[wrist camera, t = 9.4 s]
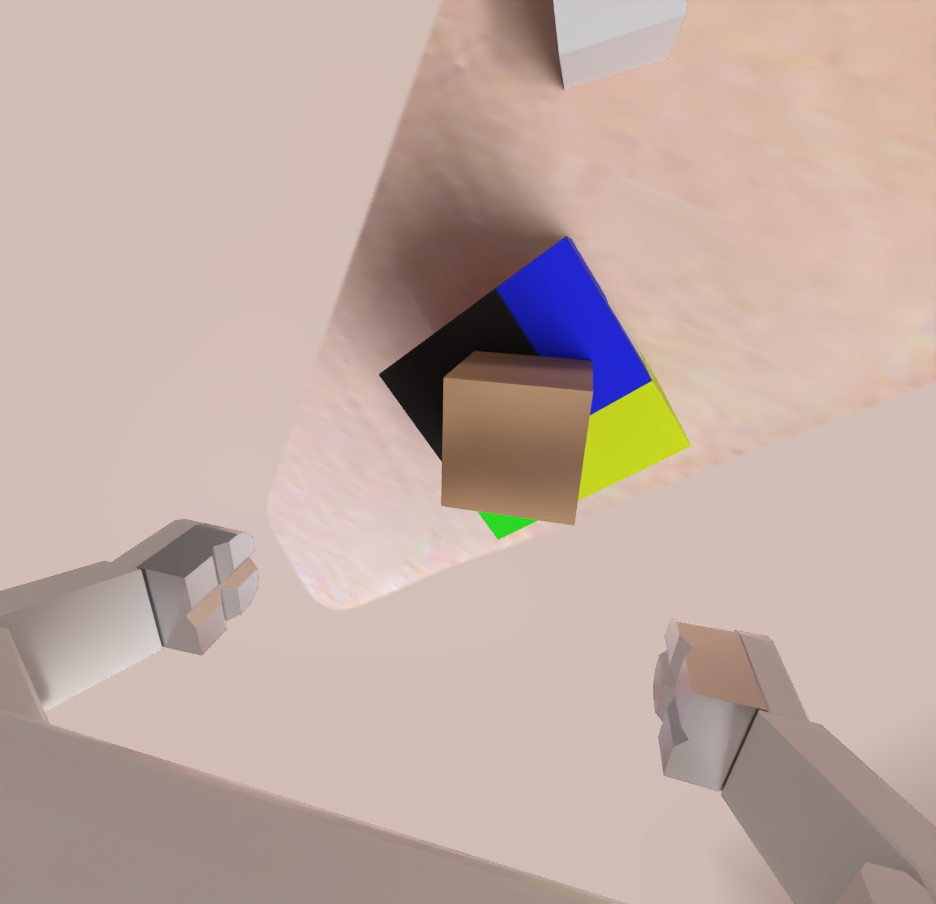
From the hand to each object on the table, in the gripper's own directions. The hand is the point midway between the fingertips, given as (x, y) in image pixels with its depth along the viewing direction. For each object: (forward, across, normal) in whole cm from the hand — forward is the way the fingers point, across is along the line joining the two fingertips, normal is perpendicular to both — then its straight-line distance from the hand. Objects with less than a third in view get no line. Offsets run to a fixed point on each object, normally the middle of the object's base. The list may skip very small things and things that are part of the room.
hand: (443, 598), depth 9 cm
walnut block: (+14, 0, +1) cm, 14 cm away
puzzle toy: (+24, 0, +1) cm, 24 cm away
